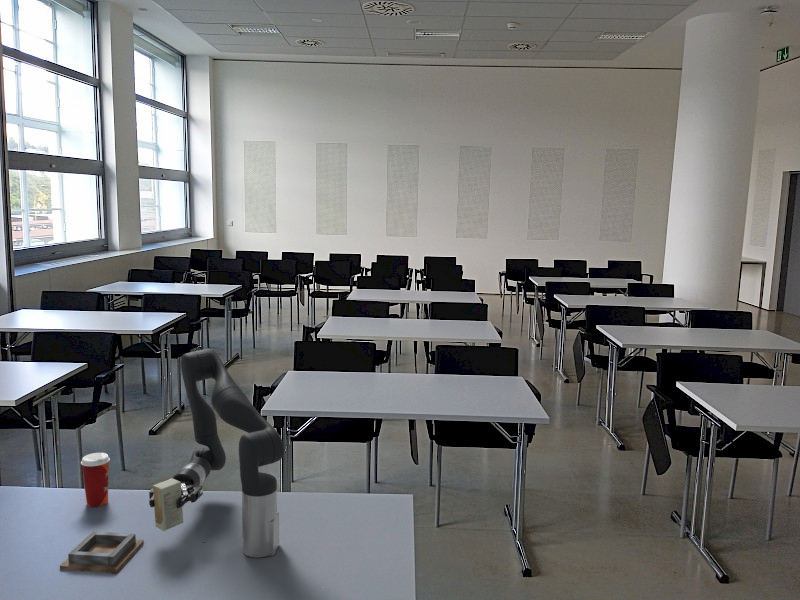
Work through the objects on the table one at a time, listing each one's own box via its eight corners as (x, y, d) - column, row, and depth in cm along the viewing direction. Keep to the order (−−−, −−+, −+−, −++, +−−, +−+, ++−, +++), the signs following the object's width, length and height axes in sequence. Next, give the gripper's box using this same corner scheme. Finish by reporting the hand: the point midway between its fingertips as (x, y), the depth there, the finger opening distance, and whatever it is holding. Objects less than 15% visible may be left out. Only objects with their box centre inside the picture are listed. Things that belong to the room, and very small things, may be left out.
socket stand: (143, 543, 184) (143, 531, 183) (116, 573, 169) (116, 560, 168) (91, 540, 185) (90, 528, 184) (59, 569, 170) (59, 556, 169)
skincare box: (175, 518, 187) (173, 477, 186) (183, 523, 185) (182, 481, 183) (154, 527, 182) (152, 484, 181) (162, 531, 180) (160, 488, 178)
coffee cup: (116, 502, 208) (114, 456, 206) (89, 511, 202) (87, 464, 200) (104, 494, 213) (102, 449, 211) (78, 502, 207) (75, 456, 205)
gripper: (164, 466, 197) (138, 490, 180) (211, 468, 196) (189, 492, 179) (165, 490, 198) (139, 516, 181) (212, 492, 197) (190, 518, 180)
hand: (164, 504), depth 180 cm, fingers closed on skincare box, 7 cm apart
